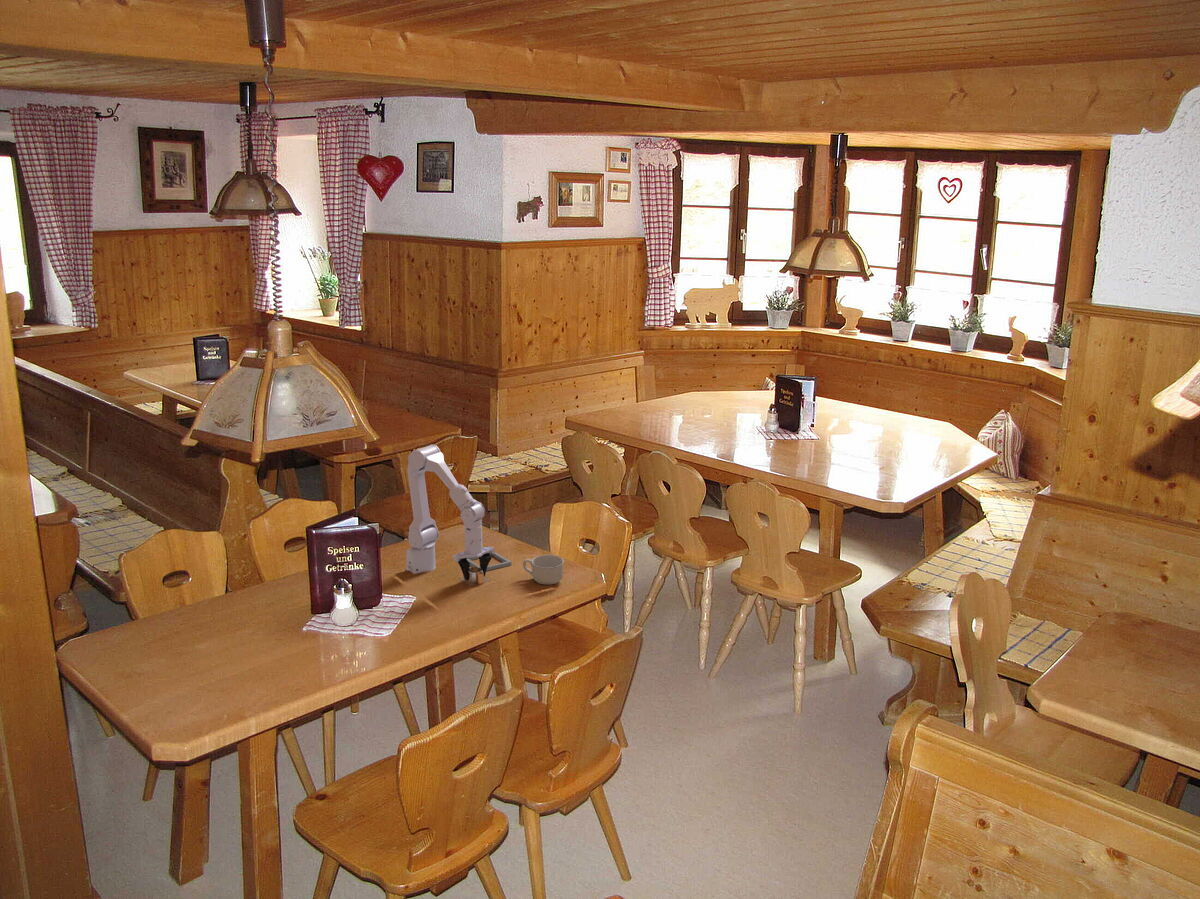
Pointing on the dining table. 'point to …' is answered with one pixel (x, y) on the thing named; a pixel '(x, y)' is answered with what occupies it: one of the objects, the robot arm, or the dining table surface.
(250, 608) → the dining table surface
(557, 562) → the teacup
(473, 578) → the ring
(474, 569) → the tan peg stand
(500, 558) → the tray
